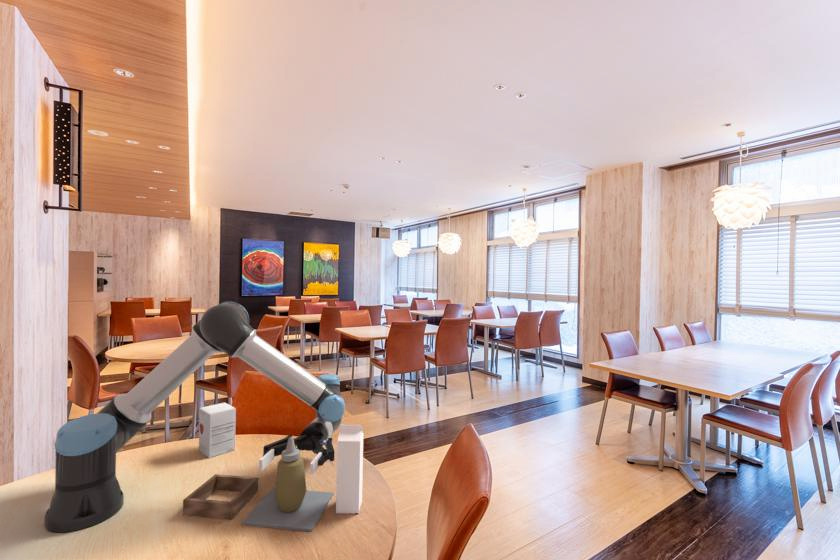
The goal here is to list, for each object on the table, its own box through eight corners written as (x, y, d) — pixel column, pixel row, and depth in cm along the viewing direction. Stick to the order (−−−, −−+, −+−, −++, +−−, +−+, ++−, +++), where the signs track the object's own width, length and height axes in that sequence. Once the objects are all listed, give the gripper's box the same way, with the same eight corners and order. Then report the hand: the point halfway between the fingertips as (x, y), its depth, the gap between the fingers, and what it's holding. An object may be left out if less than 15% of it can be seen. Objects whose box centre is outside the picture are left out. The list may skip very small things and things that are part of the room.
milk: (340, 500, 106) (341, 420, 106) (362, 500, 106) (363, 420, 106) (335, 513, 100) (337, 428, 100) (359, 514, 100) (360, 429, 100)
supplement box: (197, 450, 135) (198, 407, 134) (224, 442, 141) (225, 401, 141) (208, 458, 129) (209, 413, 129) (235, 450, 136) (236, 407, 135)
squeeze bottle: (296, 517, 97) (297, 446, 97) (267, 513, 99) (268, 443, 99) (311, 499, 105) (312, 433, 105) (284, 496, 107) (285, 430, 107)
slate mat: (241, 525, 95) (241, 522, 95) (272, 489, 111) (272, 487, 111) (311, 531, 93) (311, 529, 93) (333, 494, 109) (333, 492, 109)
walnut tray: (182, 515, 98) (183, 499, 98) (215, 488, 111) (215, 474, 111) (231, 520, 97) (231, 504, 97) (258, 491, 110) (258, 477, 110)
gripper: (355, 448, 119) (333, 485, 97) (278, 443, 121) (239, 478, 100) (356, 424, 119) (333, 455, 97) (278, 419, 121) (239, 449, 100)
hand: (285, 467), depth 99 cm, fingers open, 13 cm apart
